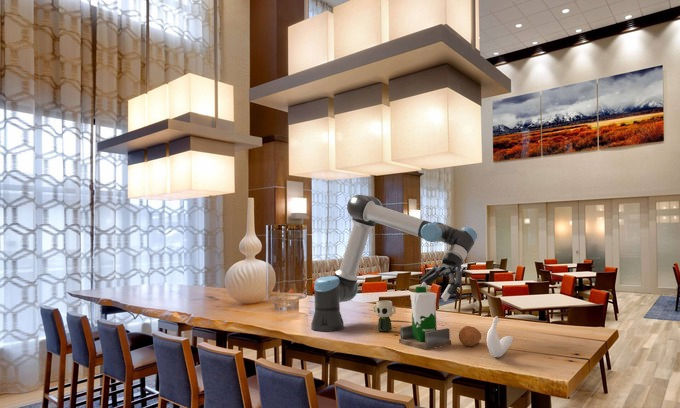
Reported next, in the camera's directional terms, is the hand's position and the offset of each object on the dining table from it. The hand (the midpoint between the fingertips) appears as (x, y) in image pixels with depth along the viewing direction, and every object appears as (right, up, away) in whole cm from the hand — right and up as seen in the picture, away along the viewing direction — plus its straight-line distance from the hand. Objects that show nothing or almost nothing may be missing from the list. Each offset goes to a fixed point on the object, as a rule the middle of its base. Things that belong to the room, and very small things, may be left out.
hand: (430, 297), depth 170 cm
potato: (+14, -17, -6) cm, 23 cm away
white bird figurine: (+19, -15, -23) cm, 33 cm away
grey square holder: (-3, -17, -3) cm, 18 cm away
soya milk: (-3, -16, -2) cm, 16 cm away
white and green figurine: (-16, -20, +22) cm, 34 cm away
